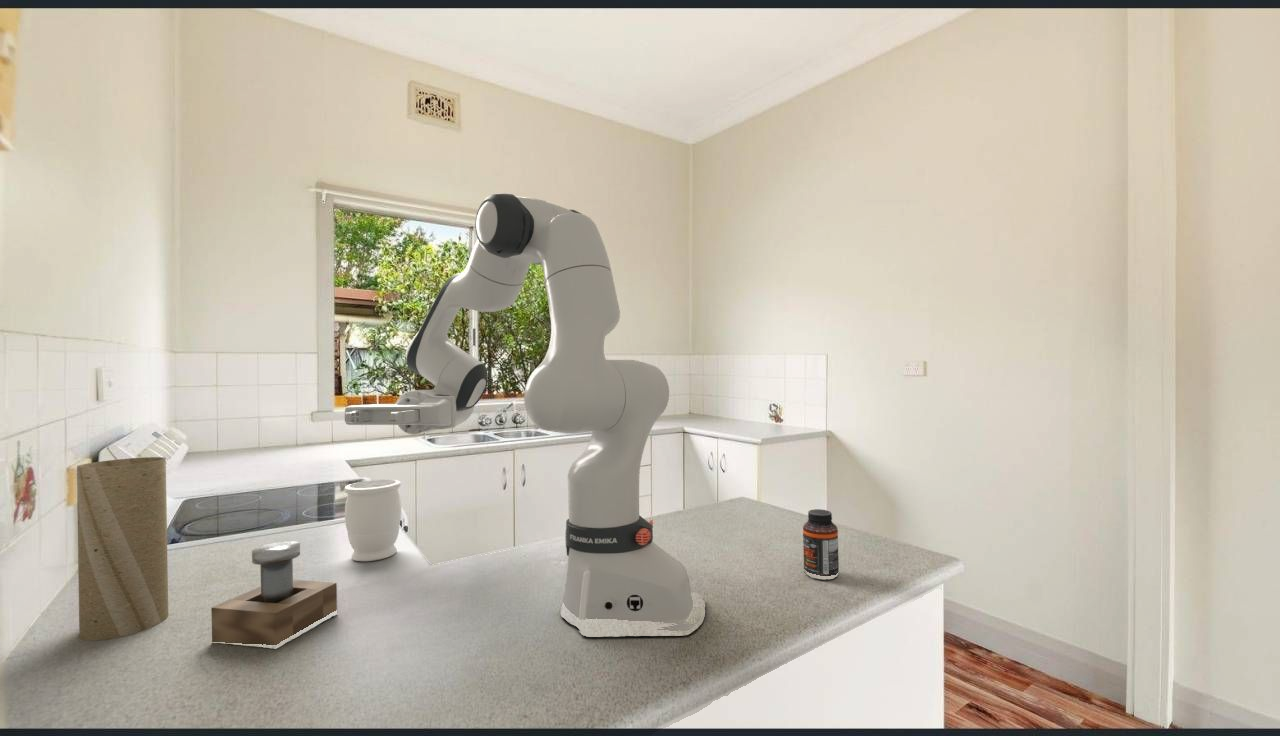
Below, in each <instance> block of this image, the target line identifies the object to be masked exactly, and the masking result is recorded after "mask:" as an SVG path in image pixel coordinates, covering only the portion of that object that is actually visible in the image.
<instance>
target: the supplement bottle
mask: <svg viewBox="0 0 1280 736" xmlns="http://www.w3.org/2000/svg"><path fill="white" fill-rule="evenodd" d="M807 516H808V517H807V518H808V519H807V521H806V522H805V523H804V524H803V526H802V538H803V539H802V540H803V541H802V544H803V547H802V548H803V550H802V551H803V570H804V569H805V570H806V571H807V572H809V573H812V574H816V575H820V576H831V575H836V574H837V573H838V572H840V569H839V568H840V567H839V562H840V561H839V529H838V527H837V525H836V524H834V522H833V514H832V512H831V510H830V511H829V510H826V509H818V508H817V509H816V508H815V509H810V510H808V513H807Z"/></svg>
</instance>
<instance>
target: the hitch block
mask: <svg viewBox="0 0 1280 736" xmlns="http://www.w3.org/2000/svg"><path fill="white" fill-rule="evenodd" d="M337 587H338V586H337V582H333V581H332V582H330V581H317V580H315V581H314V580H301V579H293V596H291V597H289V598H287V599H285V600H283V601H281V602H279V603H265V602H261V585H260V586H258V587H256V588H253V589H252V590H249V591H247V592H245V593H242V594H239V595H238V596H235V597H233V598H230V599H227V600H226V601H224V602H222V603H219V604H216V605H215V606H212V607H210V608H211V611H210V612H211V643H212V642H225V643H242V644H262V645H263V644H266V645H277V644H279V643H280V642H281V641H283V640H285V639H287V638H289V637H290V636H292V635H294V634H296V633H297V632H299V631H300V630H303V629H304V628H306V627H308V626H309V625H311V624H313V623H314V622H316V621H318V620H320V619H322V618H324V617H326V616H327V615H329V614H330V613H332V612H334V611H336V610H337V611H338V589H337Z"/></svg>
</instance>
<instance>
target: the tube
mask: <svg viewBox="0 0 1280 736" xmlns="http://www.w3.org/2000/svg"><path fill="white" fill-rule="evenodd" d="M166 461H167V458H166V457H161V456H151V457H150V456H148V457H131V458H120V459H110V460H103V461H96V462H89V463H83V464H80V465H79V464H78V465H77V466H76V500H77V501H76V502H77V509H76V510H77V511H76V512H77V564H78V566H77V567H78V568H77V569H78V571H77V572H78V573H77V574H78V575H77V576H78V619H79V620H78V621H79V622H78V623H79V624H78V627H79V630H78V633H79V638H80V639H81V640H84V641H89V642H90V641H105V640H112V639H116V638H117V639H118V638H121V637H122V638H123V637H126V636H129V635H132V634H136V633H139V632H143V631H146V630H147V629H149V628H152V627H154V626H157V625H159V624H160V623H162V622H164V621H165V620H167V619H168V617H169V584H168V583H169V575H168V574H169V570H168V564H169V563H168V562H169V561H168V521H167V520H168V519H167V517H168V515H167V514H168V513H167V511H168V510H167V509H168V508H167V462H166Z"/></svg>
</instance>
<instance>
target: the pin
mask: <svg viewBox="0 0 1280 736" xmlns="http://www.w3.org/2000/svg"><path fill="white" fill-rule="evenodd" d="M300 555H301V543H300V542H299V541H278V542H273V543H267V544H264V545H261V546H259V547H255V548H254V549H252V550H251V562H252V564H254V565H259V567H260V586H261V602H265V603H279V602H281V601H283V600H285V599H287V598H289V597H291V596H293V580H294V576H293V575H294V573H293V570H294V568H293V564H294V563H293V562H294V561H293V559H296V558H298V557H299V556H300Z"/></svg>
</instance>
